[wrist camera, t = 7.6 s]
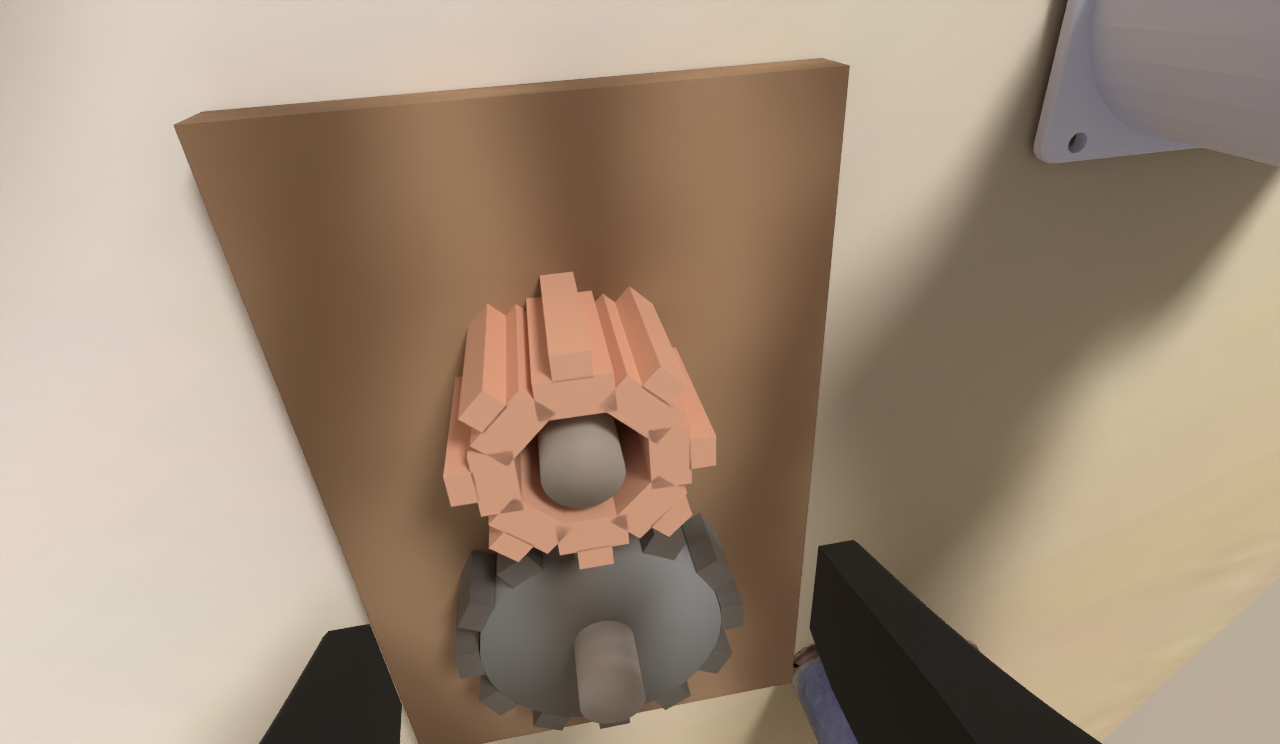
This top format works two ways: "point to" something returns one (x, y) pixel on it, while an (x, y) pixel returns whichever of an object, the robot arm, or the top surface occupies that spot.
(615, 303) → the terracotta gear
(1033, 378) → the top surface
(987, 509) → the top surface
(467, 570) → the board
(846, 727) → the flask
